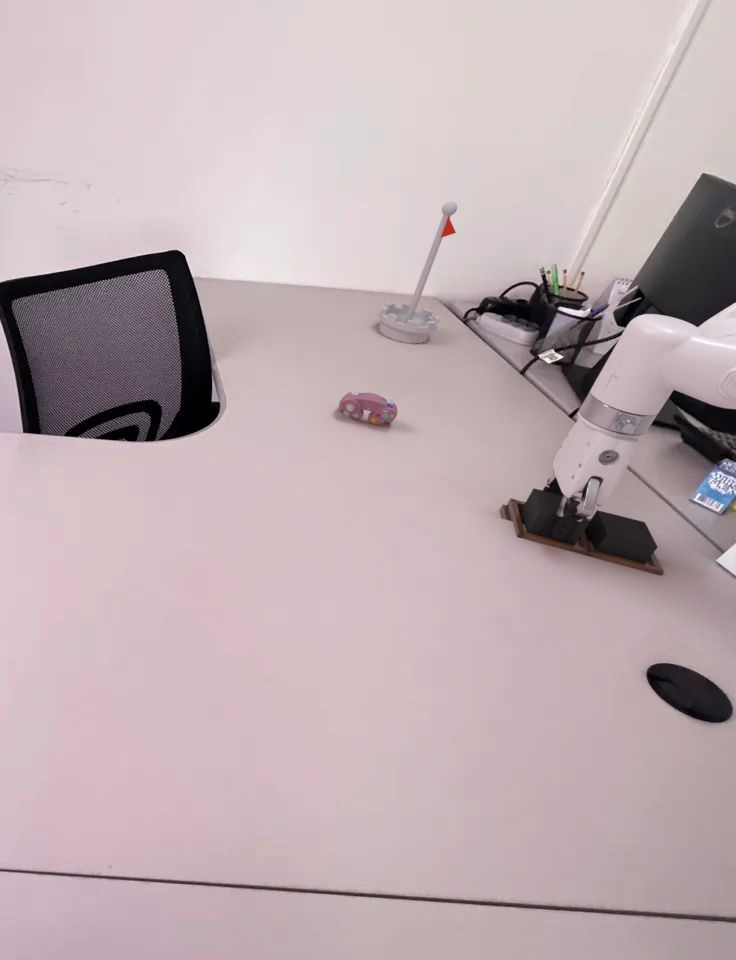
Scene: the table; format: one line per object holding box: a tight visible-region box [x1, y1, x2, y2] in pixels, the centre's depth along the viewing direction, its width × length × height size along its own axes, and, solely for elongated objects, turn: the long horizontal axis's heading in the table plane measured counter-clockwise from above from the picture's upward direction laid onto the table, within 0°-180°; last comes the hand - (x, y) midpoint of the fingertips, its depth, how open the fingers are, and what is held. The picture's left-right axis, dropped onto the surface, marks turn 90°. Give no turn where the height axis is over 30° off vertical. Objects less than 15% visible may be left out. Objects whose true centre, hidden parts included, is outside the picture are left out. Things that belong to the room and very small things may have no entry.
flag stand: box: [378, 200, 458, 345], centre depth 152 cm, size 13×13×30 cm
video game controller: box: [338, 390, 398, 425], centre depth 120 cm, size 10×5×7 cm, turn 68°
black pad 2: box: [584, 509, 658, 564], centre depth 93 cm, size 6×6×4 cm
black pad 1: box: [521, 488, 589, 545], centre depth 95 cm, size 6×6×4 cm
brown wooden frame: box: [499, 498, 665, 576], centre depth 95 cm, size 18×10×2 cm, turn 69°
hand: (549, 524), depth 95 cm, fingers closed on black pad 1, 5 cm apart
